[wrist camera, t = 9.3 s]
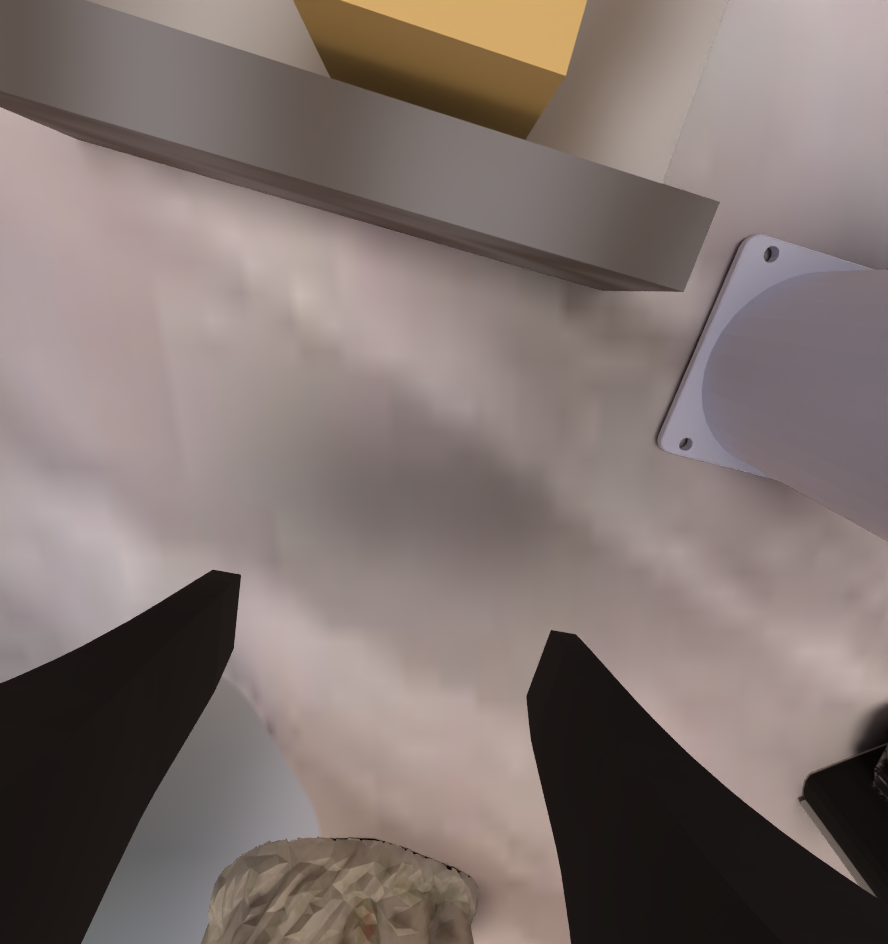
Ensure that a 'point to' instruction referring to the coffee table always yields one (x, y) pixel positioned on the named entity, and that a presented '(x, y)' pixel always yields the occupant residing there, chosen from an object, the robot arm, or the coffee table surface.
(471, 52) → the cabinet block
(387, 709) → the coffee table surface
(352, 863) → the rough stone chunk
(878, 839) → the camera
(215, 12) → the board
